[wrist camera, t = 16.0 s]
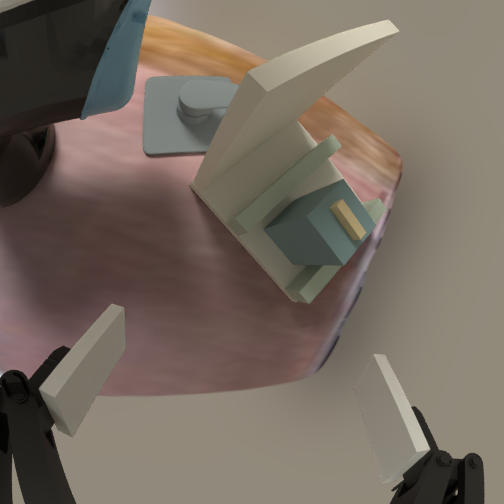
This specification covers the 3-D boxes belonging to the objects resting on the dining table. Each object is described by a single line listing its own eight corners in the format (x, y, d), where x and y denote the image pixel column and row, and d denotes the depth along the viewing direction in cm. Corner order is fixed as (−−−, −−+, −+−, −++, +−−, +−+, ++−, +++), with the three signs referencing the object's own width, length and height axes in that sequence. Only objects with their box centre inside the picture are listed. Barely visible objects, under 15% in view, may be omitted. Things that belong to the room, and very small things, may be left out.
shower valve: (269, 137, 32) (140, 139, 27) (255, 153, 37) (143, 157, 33) (257, 61, 32) (146, 57, 27) (246, 81, 37) (146, 80, 33)
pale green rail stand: (189, 186, 34) (243, 68, 12) (284, 115, 38) (386, 17, 16) (291, 301, 38) (438, 338, 15) (364, 216, 42) (497, 190, 20)
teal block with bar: (263, 229, 35) (312, 214, 23) (294, 199, 37) (350, 175, 25) (292, 264, 36) (351, 265, 25) (321, 234, 38) (383, 224, 26)
